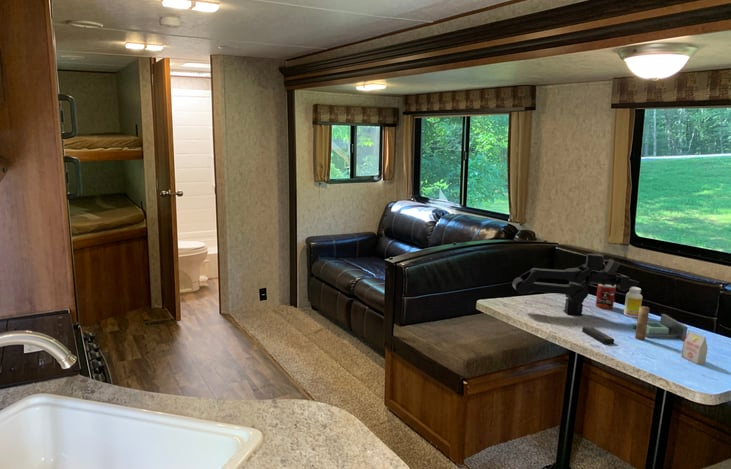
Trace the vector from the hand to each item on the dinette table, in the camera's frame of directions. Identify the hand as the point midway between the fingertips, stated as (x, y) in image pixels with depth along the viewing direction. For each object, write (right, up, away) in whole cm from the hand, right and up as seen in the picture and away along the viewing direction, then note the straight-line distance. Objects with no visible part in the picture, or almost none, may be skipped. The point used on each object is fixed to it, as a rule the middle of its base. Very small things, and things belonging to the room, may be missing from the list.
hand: (634, 280), depth 245 cm
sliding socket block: (-1, -20, -19) cm, 27 cm away
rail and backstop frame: (0, -20, -18) cm, 27 cm away
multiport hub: (-27, -21, -26) cm, 43 cm away
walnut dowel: (-10, -21, -26) cm, 35 cm away
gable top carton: (-1, -25, -45) cm, 52 cm away
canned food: (-7, -14, +16) cm, 22 cm away
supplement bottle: (+1, -16, +4) cm, 17 cm away
